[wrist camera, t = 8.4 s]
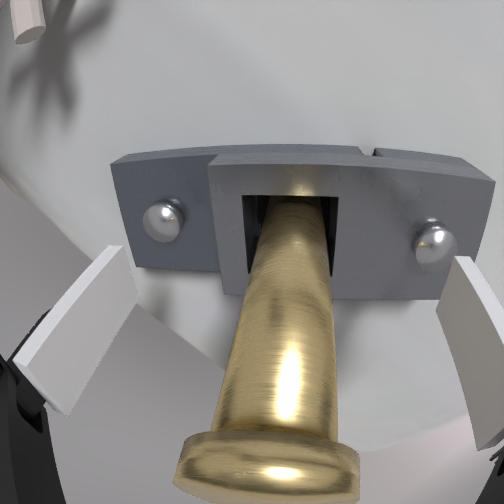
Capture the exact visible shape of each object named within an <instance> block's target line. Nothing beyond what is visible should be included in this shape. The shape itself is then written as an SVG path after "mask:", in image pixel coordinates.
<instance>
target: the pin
mask: <svg viewBox="0 0 504 504" xmlns="http://www.w3.org/2000/svg"><path fill="white" fill-rule="evenodd" d="M173 484H174V485H175V486H176V487H177V488H179V489H180V490H182V491H184V492H186V493H188V494H190V495H192V496H195V497H197V498H200V499H203V500H206V501H209V502H212V503H216V504H355V503H357V502H358V501H359V499H360V457H359V454H358V453H357V452H356V451H355V450H353V449H352V448H350V447H348V446H346V445H343V444H341V443H338V407H337V371H336V349H335V332H334V318H333V305H332V293H331V282H330V272H329V262H328V253H327V244H326V236H325V228H324V220H323V212H322V205H321V199H320V196H297V195H270V198H269V202H268V206H267V210H266V214H265V218H264V222H263V226H262V230H261V234H260V238H259V242H258V246H257V250H256V254H255V258H254V262H253V266H252V270H251V273H250V277H249V281H248V285H247V289H246V293H245V297H244V301H243V305H242V309H241V313H240V317H239V321H238V325H237V329H236V333H235V337H234V341H233V345H232V349H231V352H230V356H229V360H228V364H227V368H226V372H225V376H224V380H223V384H222V388H221V392H220V396H219V400H218V403H217V407H216V411H215V415H214V419H213V423H212V427H211V431H209V432H203V433H199V434H195V435H192V436H190V437H189V438H187V439H186V440H185V442H184V445H183V448H182V451H181V455H180V458H179V462H178V465H177V468H176V472H175V475H174V478H173Z"/></svg>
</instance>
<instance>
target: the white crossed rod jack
mask: <svg viewBox="0 0 504 504" xmlns="http://www.w3.org/2000/svg"><path fill="white" fill-rule="evenodd" d="M8 1H9V0H0V9H1V8H2V7H3V6H4V5H5V4H6V3H7V2H8ZM10 9H11V18H12V25H13V32H14V38H15V42H16V44H25V43H28V42H31V41H33V40H35V39H37V38H38V37H40V36H41V35H43V33H44V32H45V31H46V24H45V18H44V13H43V7H42V1H41V0H10Z"/></svg>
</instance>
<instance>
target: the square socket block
mask: <svg viewBox="0 0 504 504" xmlns="http://www.w3.org/2000/svg"><path fill="white" fill-rule="evenodd" d="M110 166H111V171H112V176H113V181H114V185H115V190H116V194H117V198H118V202H119V207H120V211H121V215H122V218H123V222H124V226H125V230H126V234H127V237H128V241H129V244H130V248H131V251H132V255H133V258H134V262H135V265H136V267H143V268H159V269H177V270H195V271H215V272H221V277H222V283H223V290H224V294H234V295H245V293H246V289H247V285H248V281H249V277H250V273H251V270H252V266H253V262H254V258H255V254H256V250H257V246H258V242H259V238H260V235H259V227H258V210H257V195H297V196H331V197H330V216H329V233H328V237H326V244H327V253H328V262H329V272H330V282H331V293H332V299H365V300H440V298H441V295H442V292H443V289H444V286H445V283H446V281H447V278H448V275H449V271H450V268H451V265H452V262H453V259H454V256H470V258H471V259H472V261H473V262H475V259H476V256H477V253H478V250H479V247H480V243H481V240H482V237H483V233H484V230H485V226H486V222H487V218H488V214H489V210H490V206H491V202H492V197H493V193H494V188H495V183H496V182H495V181H494V180H493V179H491V178H490V177H489V176H487V175H486V174H484V173H483V172H481V171H480V170H479V169H477V168H476V167H474V166H473V165H471V164H470V163H468V162H467V161H465V160H463V159H462V158H458V157H451V156H445V155H437V154H430V153H422V152H414V151H405V150H395V149H384V148H375V156H365V155H364V154H363V153H362V152H361V150H360V149H359V148H358V147H356V146H338V145H305V144H264V145H231V146H212V147H197V148H184V149H173V150H162V151H153V152H144V153H136V154H128V155H126V156H124V157H122V158H120V159H118V160H117V161H115V162H113V163H111V164H110Z"/></svg>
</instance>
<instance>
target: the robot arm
mask: <svg viewBox="0 0 504 504" xmlns="http://www.w3.org/2000/svg"><path fill="white" fill-rule="evenodd" d="M139 298H140V297H139V294H138V291H137V288H136V285H135V282H134V279H133V276H132V273H131V269H130V266H129V263H128V260H127V257H126V253H125V250H124V247H123V246H118V245H109V246H108V247H107V248H106V249H105V250H104V251H103V252H102V253H101V254H100V255H99V256H98V257H97V258H96V259H95V260H94V262H93V263H92V264H91V265H90V266H89V267H88V268H87V269H86V270H85V271H84V273H83V274H82V275H81V276H80V277H79V278H78V279H77V280H76V281H75V283H74V284H73V285H72V286H71V287H70V288H69V290H67V292H66V293H65V294H64V295H63V297H62V298H61V299H60V300H59V301H58V302H57V303H56V305H55V306H54V307H52V308H51V309H50V310H48V311H47V312H46V313H45V314H43V315H42V316H41V318H40V319H39V320H38V321H37V323H36V324H35V326H33V328H32V329H31V330H30V333H29V334H27V335H26V337H25V338H24V339H23V340H22V342H21V343H20V345H19V346H18V347H17V348H16V350H15V351H14V352H13V354H12V355H11V357H10V358H9V359H8V360H7V362H6V361H5V360H4V359H3V357H2V356H1V355H0V504H66V501H65V498H64V495H63V491H62V488H61V484H60V480H59V476H58V471H57V467H56V463H55V458H54V454H53V448H52V442H51V437H50V431H49V424H48V417H47V412H46V409H45V408H44V407H43V405H44V403H45V402H47V403H48V404H49V405H50V406H51V407H52V408H53V409H54V410H55V411H57V412H59V413H62V414H64V415H66V416H68V417H69V416H70V414H71V413H72V411H73V409H74V407H75V405H76V403H77V401H78V399H79V398H80V396H81V394H82V392H83V391H84V389H85V387H86V385H87V384H88V382H89V380H90V378H91V376H92V375H93V373H94V371H95V370H96V368H97V366H98V364H99V363H100V361H101V359H102V358H103V356H104V354H105V352H106V351H107V349H108V348H109V346H110V344H111V343H112V341H113V339H114V337H115V336H116V334H117V333H118V331H119V330H120V328H121V326H122V325H123V323H124V321H125V320H126V318H127V317H128V315H129V314H130V312H131V310H132V309H133V307H134V306H135V304H136V303H137V301H138V300H139ZM436 313H437V315H438V318H439V321H440V323H441V326H442V328H443V331H444V334H445V337H446V339H447V342H448V345H449V348H450V351H451V354H452V357H453V360H454V363H455V366H456V369H457V372H458V375H459V379H460V382H461V385H462V389H463V392H464V396H465V400H466V403H467V407H468V411H469V415H470V419H471V423H472V428H473V432H474V438H475V442H476V448H477V451H480V450H483V449H486V448H490V447H494V446H496V445H497V444H498V443H499V442H500V441H501V440H502V439H504V310H503V308H502V306H501V305H500V303H499V301H498V300H497V298H496V296H495V295H494V293H493V291H492V290H491V288H490V286H489V285H488V283H487V282H486V280H485V279H484V277H483V275H482V274H481V272H480V271H479V269H478V268H477V266H476V265H475V263H474V262H473V261H472V259H471V258H470V256H454V259H453V262H452V265H451V268H450V271H449V275H448V278H447V281H446V283H445V286H444V289H443V292H442V295H441V298H440V300H439V303H438V306H437V308H436ZM498 456H499V457H498ZM496 457H498V460H497V461H496V462H495V466H494V469H493V471H492V473H491V475H490V477H489V479H488V481H487V483H486V485H485V487H484V489H483V491H482V493H481V494H480V496H479V498H478V500H477V502H476V503H475V504H504V446H503V447H502V448H501V449H500V450H498V451H497V452H496V453H495V454H493V455H492V457H491V458H490V461H492V460H494V459H495V458H496Z"/></svg>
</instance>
